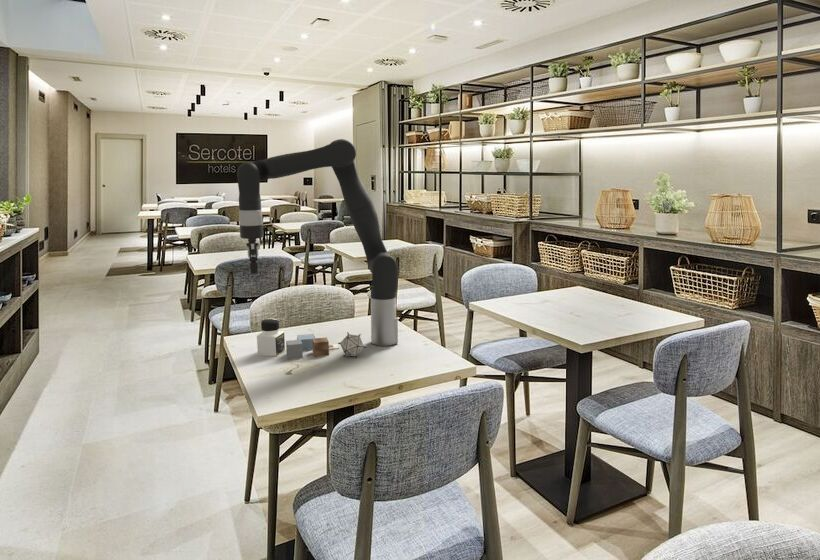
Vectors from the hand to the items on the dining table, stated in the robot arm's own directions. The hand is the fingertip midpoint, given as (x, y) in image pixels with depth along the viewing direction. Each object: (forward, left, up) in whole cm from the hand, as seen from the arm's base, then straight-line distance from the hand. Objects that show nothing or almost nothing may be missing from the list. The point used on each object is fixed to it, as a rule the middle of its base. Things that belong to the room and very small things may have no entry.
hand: (254, 271), depth 191 cm
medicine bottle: (-4, 0, -29) cm, 30 cm away
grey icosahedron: (-31, +12, -29) cm, 44 cm away
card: (-25, 0, -29) cm, 38 cm away
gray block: (-12, +6, -29) cm, 32 cm away
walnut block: (-21, +6, -29) cm, 36 cm away
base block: (-17, -3, -29) cm, 34 cm away
